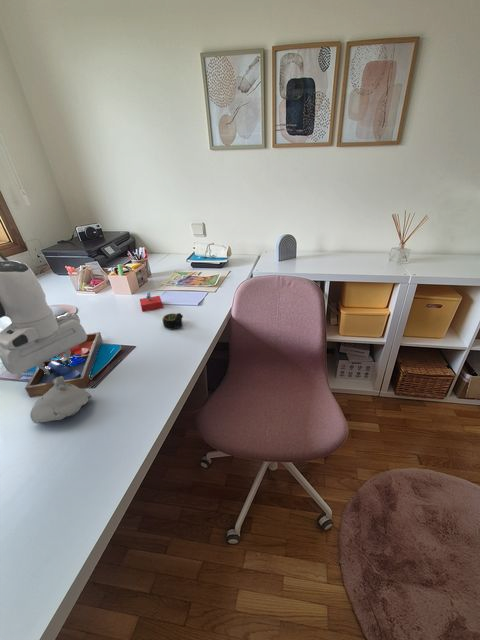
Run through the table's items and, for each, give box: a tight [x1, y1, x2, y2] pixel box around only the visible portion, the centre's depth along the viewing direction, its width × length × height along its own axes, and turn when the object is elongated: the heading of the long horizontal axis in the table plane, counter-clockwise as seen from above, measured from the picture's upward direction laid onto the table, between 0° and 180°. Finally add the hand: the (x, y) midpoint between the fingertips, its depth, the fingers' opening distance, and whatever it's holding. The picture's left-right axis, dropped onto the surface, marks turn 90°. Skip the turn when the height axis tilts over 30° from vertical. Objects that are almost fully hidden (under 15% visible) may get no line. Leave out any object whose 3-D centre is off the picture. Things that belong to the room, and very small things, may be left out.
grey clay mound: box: [29, 376, 93, 424], centre depth 71 cm, size 12×12×11 cm
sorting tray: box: [24, 332, 103, 398], centre depth 89 cm, size 14×26×3 cm, turn 15°
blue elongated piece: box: [48, 361, 81, 380], centre depth 84 cm, size 12×4×3 cm, turn 60°
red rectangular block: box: [139, 291, 164, 313], centre depth 121 cm, size 8×7×6 cm
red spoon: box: [70, 345, 90, 355], centre depth 93 cm, size 12×4×3 cm, turn 60°
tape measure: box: [161, 312, 184, 330], centre depth 108 cm, size 7×7×4 cm
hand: (58, 368), depth 85 cm, fingers open, 4 cm apart
